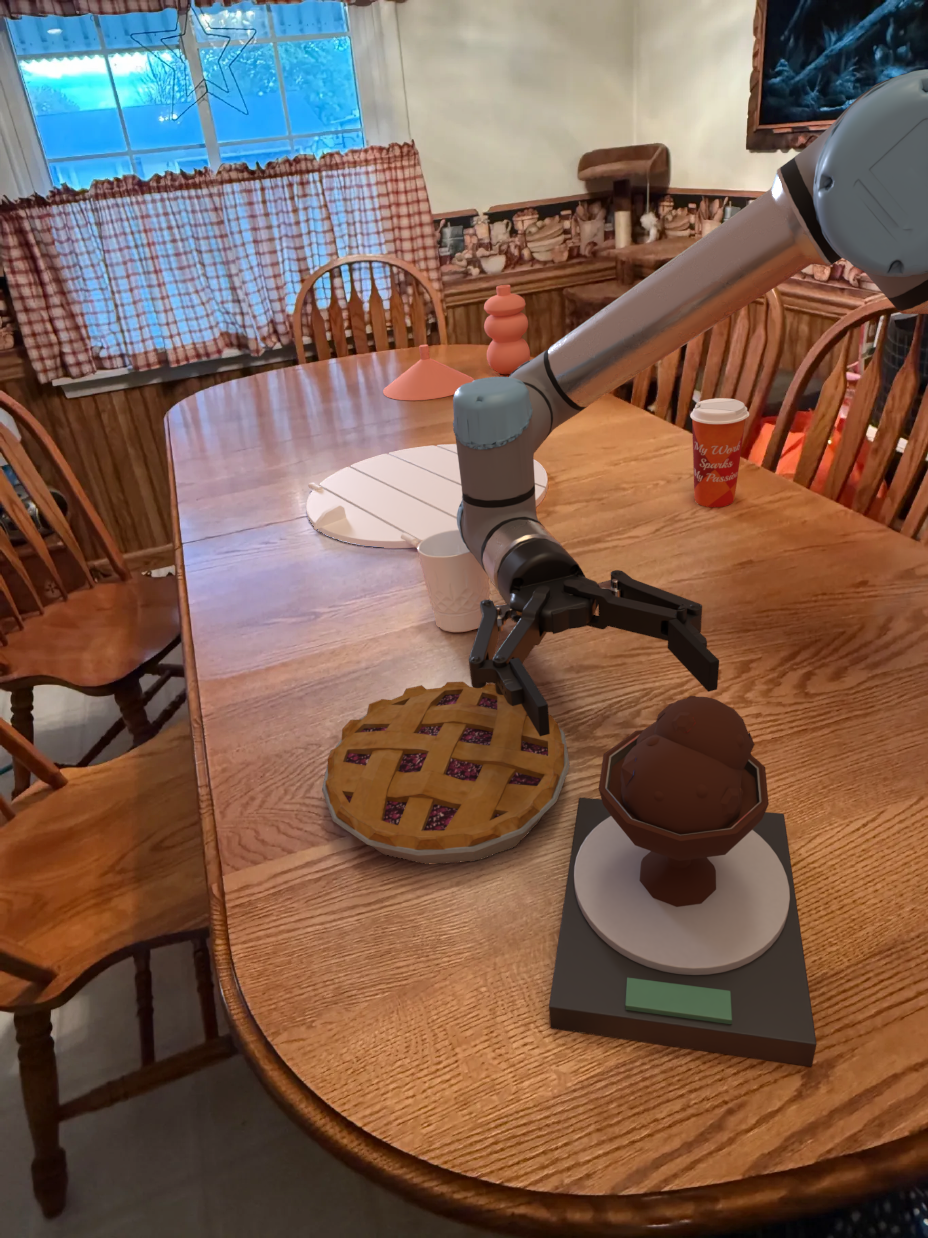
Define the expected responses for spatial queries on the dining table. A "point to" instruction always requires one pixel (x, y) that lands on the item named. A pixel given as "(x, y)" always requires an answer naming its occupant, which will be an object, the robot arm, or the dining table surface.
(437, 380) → the ceramic vessels
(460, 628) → the white cup
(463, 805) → the pie
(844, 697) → the dining table surface
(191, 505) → the dining table surface
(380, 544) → the lazy susan
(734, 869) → the scale
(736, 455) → the paper cup
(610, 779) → the ice cream bowl
